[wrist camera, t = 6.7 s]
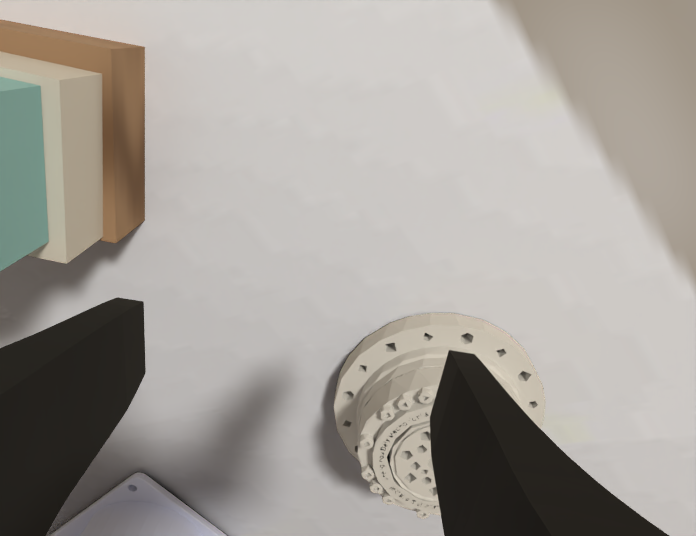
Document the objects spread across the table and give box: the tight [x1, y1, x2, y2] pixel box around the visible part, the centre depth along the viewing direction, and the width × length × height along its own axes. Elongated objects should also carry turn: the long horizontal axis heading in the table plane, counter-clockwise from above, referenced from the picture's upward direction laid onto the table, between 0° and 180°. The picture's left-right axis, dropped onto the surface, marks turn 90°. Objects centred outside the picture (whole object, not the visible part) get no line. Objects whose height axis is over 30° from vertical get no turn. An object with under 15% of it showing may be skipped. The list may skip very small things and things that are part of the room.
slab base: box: [0, 20, 145, 243], centre depth 19 cm, size 7×7×3 cm
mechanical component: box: [334, 313, 545, 519], centre depth 23 cm, size 10×4×10 cm
